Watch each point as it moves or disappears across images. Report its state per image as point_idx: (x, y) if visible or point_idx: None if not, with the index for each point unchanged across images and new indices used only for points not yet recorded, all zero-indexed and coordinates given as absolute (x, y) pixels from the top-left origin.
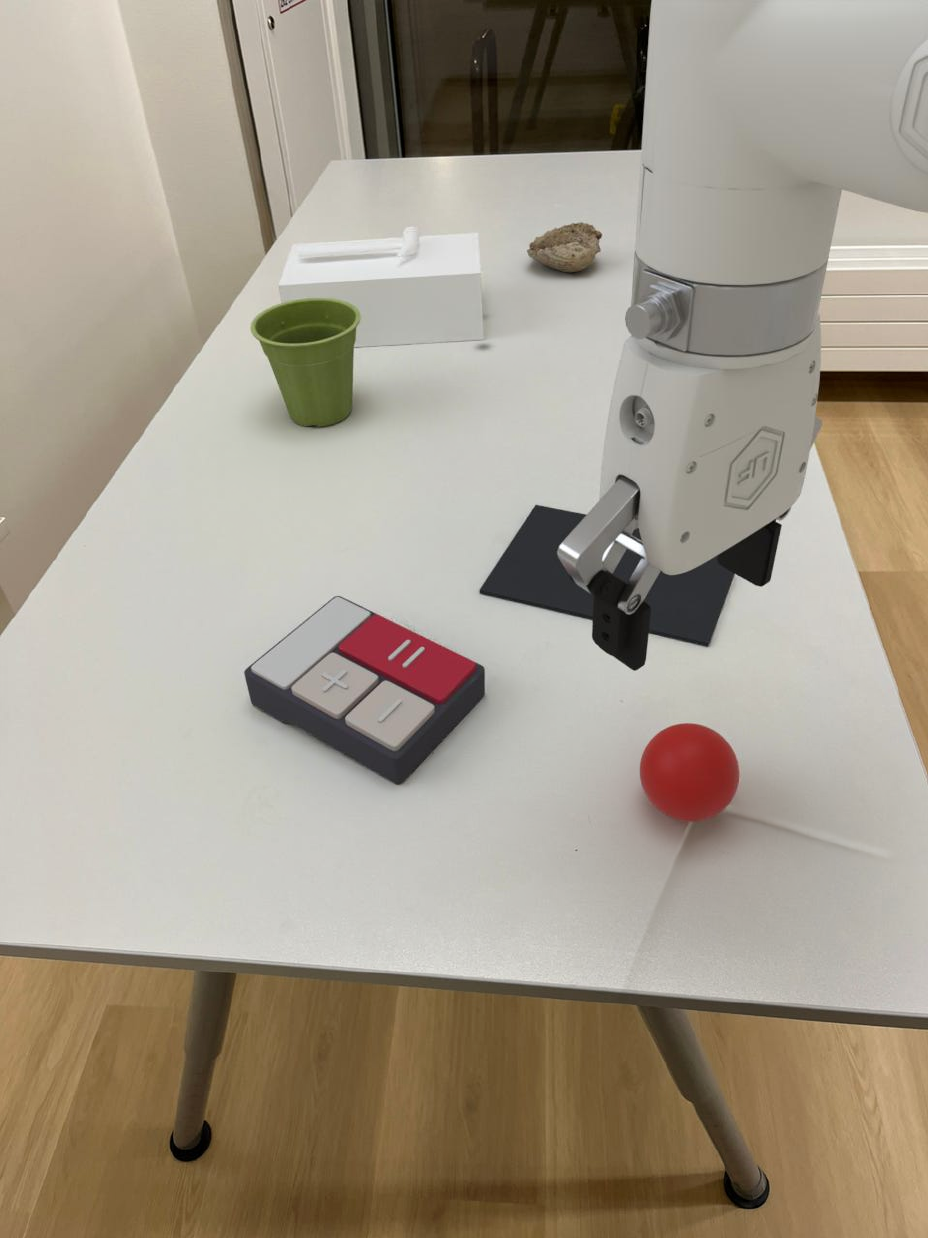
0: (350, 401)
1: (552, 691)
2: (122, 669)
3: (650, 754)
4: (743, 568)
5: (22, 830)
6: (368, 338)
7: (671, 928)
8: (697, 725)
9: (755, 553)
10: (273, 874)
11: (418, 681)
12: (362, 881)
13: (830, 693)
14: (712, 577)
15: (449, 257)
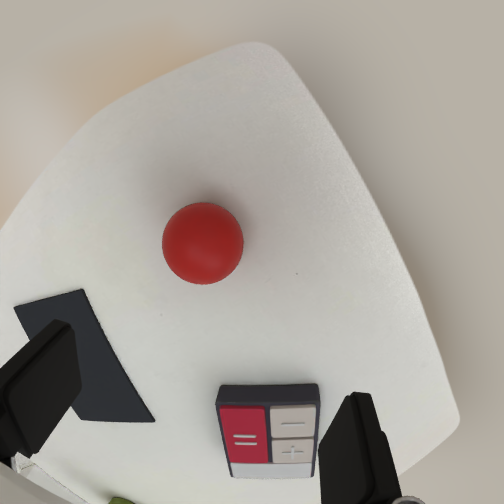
0: (113, 501)
1: (187, 355)
2: None
3: (220, 277)
4: (68, 364)
5: (418, 458)
6: (79, 501)
7: (314, 186)
8: (172, 261)
9: (45, 374)
10: (401, 389)
11: (259, 425)
12: (386, 357)
13: (63, 199)
14: (41, 313)
15: None
